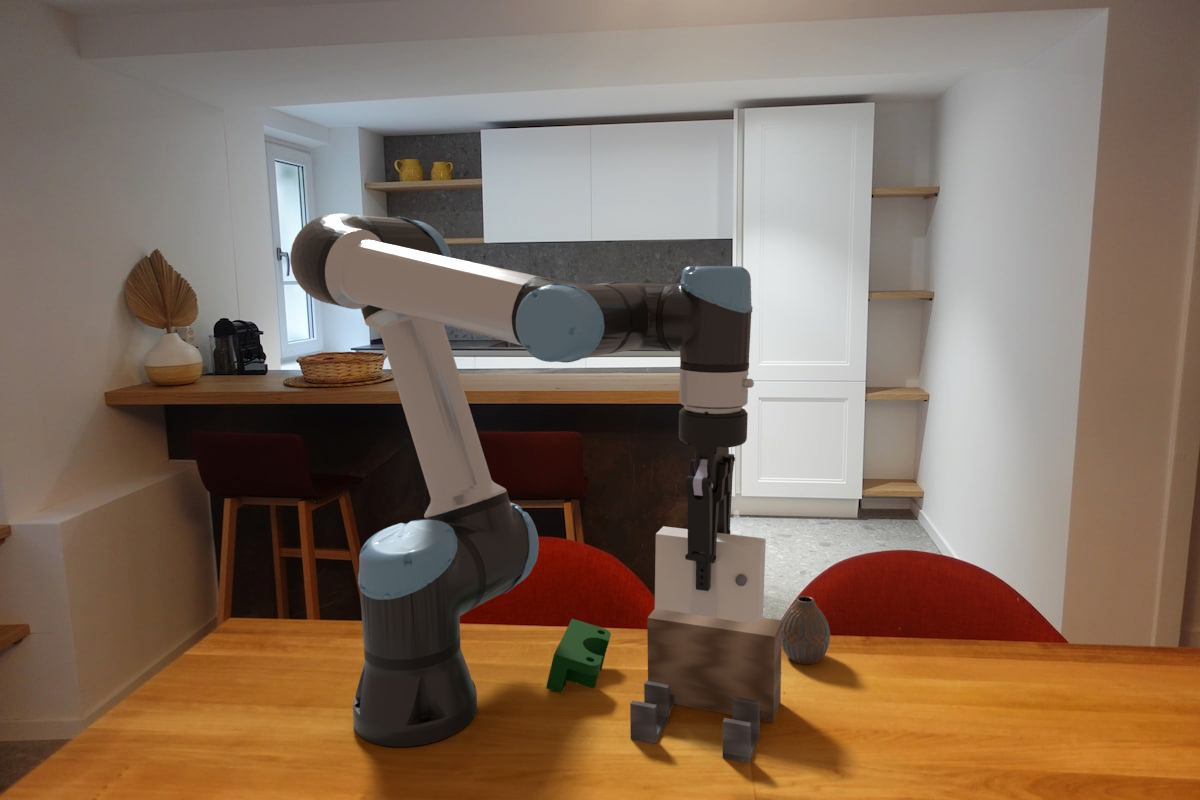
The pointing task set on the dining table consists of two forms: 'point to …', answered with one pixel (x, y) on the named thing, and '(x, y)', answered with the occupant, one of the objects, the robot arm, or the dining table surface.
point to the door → (735, 575)
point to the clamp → (578, 656)
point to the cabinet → (711, 676)
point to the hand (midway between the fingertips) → (708, 607)
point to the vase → (805, 632)
